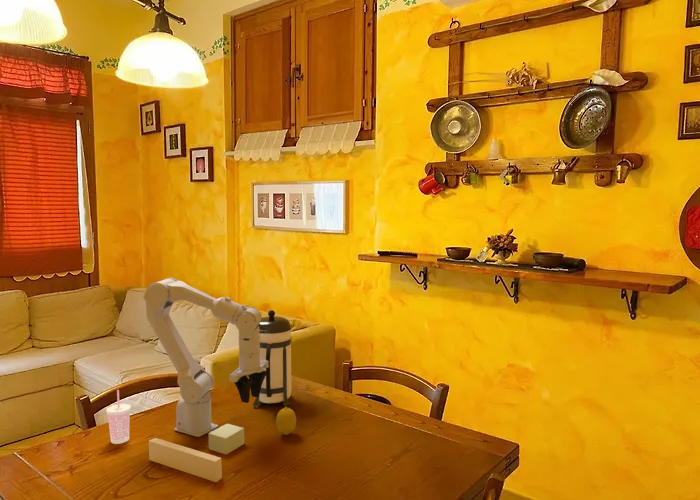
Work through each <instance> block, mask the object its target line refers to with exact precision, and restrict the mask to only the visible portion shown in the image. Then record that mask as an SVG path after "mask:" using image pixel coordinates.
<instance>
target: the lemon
mask: <svg viewBox="0 0 700 500" xmlns="http://www.w3.org/2000/svg"><path fill="white" fill-rule="evenodd" d="M275 424H276V429H277V430H278V431H279V433H282V434H284V436H288V435H289V434H291V433H293V432H294V431H295V429H296V425H297V417H296V413H295V411H294V410H293V409H291V408H290V407H285V408H284V407H283V408H281V409H280V410H279V411H278V413H277V416H276V419H275Z"/></svg>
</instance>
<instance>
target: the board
mask: <svg viewBox="0 0 700 500" xmlns="http://www.w3.org/2000/svg"><path fill="white" fill-rule="evenodd" d="M148 456H149V461H151V462H153V463H157V464H160V465H163V466H167V467H168V468H169V467H170V468H172V469H175V470H178V471H181V472H185V473H187V474H190V475H193V476H196V477H199V478H202V479H205V480H208V481H210V482H214V483H217V482H219V481H220V480H222V479H223V471H222V469H223V468H222V467H223V466H222V463H223V462H222V457H219V456H216V455H214V454H209V453H207V452H203V451H200V450H197V449H195V448H194V449H193V448H190V447H187V446H183V445H181V444H177V443H173V442H170V441H167V440H164V439H161V438H157V437H154V438H152V439H149V440H148Z"/></svg>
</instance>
